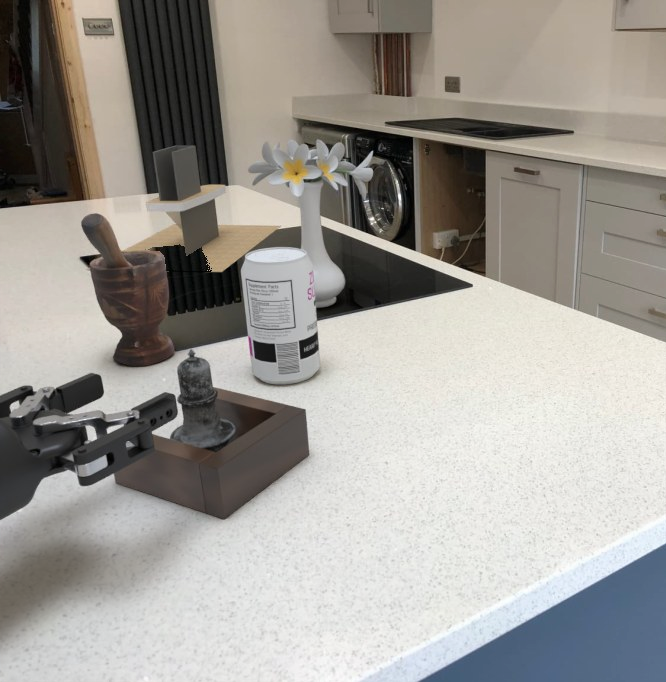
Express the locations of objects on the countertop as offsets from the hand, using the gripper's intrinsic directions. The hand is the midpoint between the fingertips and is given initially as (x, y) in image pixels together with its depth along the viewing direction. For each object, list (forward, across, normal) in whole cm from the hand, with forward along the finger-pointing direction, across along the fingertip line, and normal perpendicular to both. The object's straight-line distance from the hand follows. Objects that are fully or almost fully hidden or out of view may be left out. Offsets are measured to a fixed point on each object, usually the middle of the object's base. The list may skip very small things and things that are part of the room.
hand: (135, 393), depth 61 cm
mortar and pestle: (+22, +26, +11) cm, 36 cm away
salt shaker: (+6, 0, +11) cm, 13 cm away
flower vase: (+52, +20, +11) cm, 57 cm away
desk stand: (+6, 0, +10) cm, 12 cm away
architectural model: (+71, +65, +11) cm, 97 cm away
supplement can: (+28, +7, +11) cm, 30 cm away
